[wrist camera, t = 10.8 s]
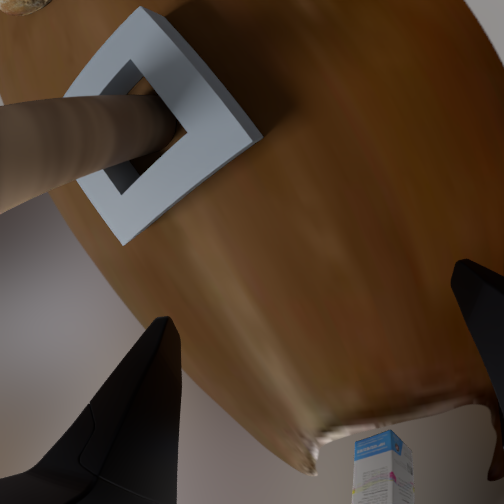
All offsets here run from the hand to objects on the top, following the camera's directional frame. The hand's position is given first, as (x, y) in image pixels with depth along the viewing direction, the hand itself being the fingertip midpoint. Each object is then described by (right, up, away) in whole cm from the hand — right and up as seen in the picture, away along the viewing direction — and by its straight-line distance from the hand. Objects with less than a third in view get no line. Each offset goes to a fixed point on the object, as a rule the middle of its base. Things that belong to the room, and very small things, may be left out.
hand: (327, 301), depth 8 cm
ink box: (+14, -22, +20) cm, 33 cm away
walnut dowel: (-9, +10, +10) cm, 16 cm away
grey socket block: (-9, +10, +10) cm, 16 cm away
